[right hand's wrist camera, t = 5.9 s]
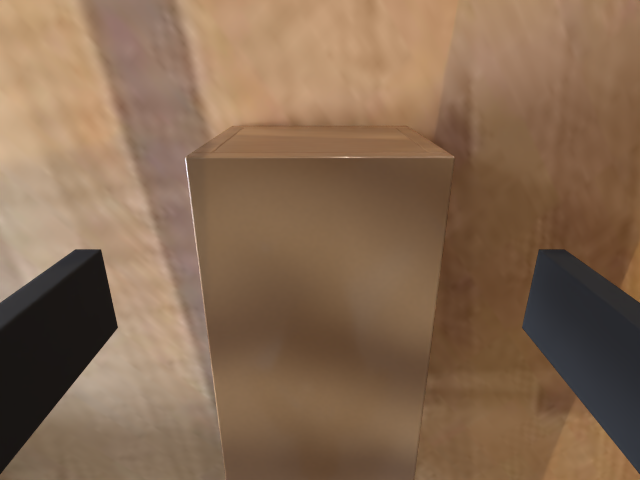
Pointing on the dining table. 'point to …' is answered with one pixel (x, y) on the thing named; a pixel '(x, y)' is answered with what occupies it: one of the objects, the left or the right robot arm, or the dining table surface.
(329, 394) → the cabinet
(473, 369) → the dining table surface
